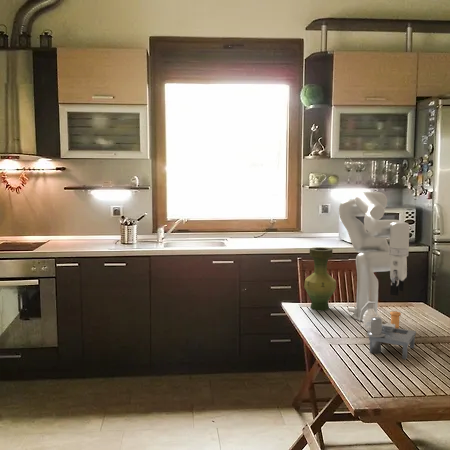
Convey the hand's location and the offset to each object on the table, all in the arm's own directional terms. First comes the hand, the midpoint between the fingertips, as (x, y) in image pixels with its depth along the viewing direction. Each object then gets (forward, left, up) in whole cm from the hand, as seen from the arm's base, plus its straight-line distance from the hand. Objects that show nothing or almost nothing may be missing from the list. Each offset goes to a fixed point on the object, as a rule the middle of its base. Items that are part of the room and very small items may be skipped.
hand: (397, 292), depth 206 cm
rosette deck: (+1, -18, -19) cm, 26 cm away
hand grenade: (-11, 0, -19) cm, 22 cm away
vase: (-42, +24, -19) cm, 52 cm away
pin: (0, 0, -19) cm, 19 cm away
